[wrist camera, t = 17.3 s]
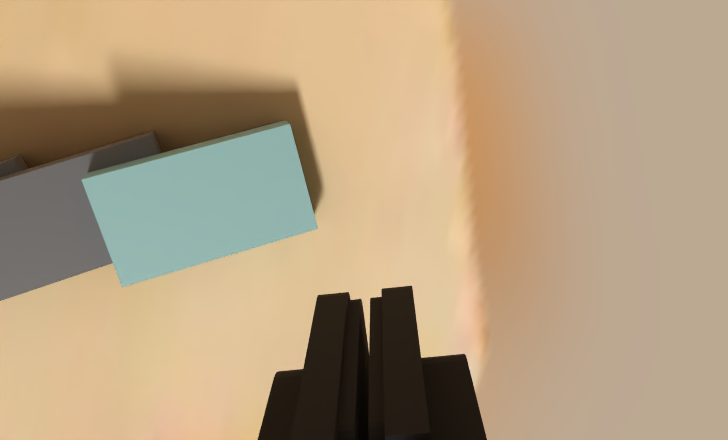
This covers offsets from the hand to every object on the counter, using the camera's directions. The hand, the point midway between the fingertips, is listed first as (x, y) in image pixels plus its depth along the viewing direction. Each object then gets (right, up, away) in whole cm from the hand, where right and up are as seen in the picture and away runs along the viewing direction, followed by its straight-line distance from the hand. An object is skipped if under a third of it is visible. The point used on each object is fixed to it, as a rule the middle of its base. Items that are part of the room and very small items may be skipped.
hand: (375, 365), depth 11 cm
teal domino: (-3, +5, +18) cm, 19 cm away
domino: (-9, +4, +18) cm, 21 cm away
